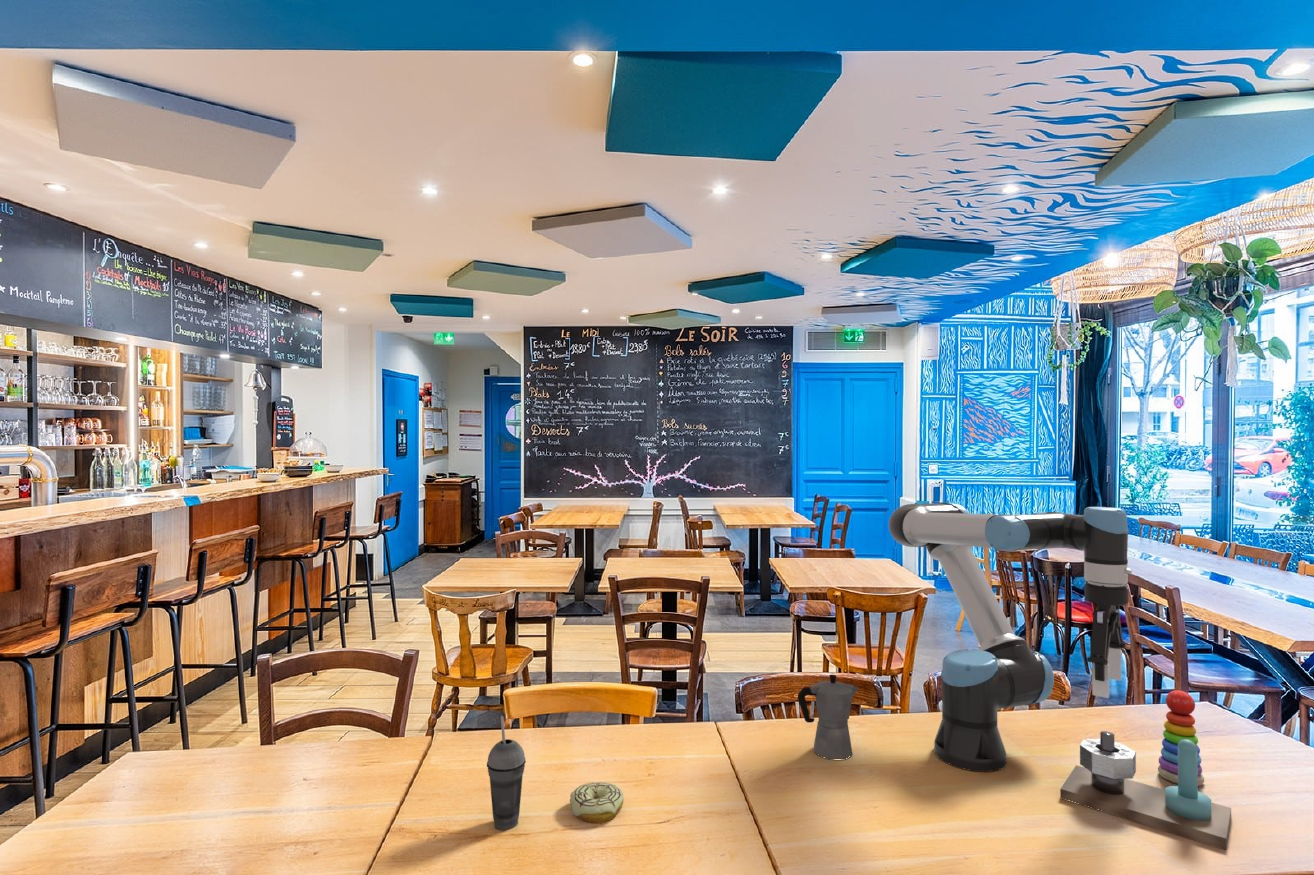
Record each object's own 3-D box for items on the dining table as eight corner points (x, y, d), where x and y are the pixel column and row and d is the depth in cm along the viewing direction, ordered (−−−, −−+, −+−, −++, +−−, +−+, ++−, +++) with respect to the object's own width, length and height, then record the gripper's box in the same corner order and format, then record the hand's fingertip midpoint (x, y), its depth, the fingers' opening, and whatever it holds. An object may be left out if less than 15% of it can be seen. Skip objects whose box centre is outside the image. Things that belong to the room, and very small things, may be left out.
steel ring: (1077, 768, 140) (1076, 749, 140) (1086, 754, 146) (1086, 735, 146) (1130, 783, 133) (1130, 763, 133) (1138, 767, 140) (1137, 748, 140)
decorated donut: (568, 827, 129) (568, 807, 129) (571, 798, 140) (571, 779, 140) (623, 825, 130) (623, 805, 130) (622, 796, 141) (622, 777, 141)
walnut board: (1060, 798, 139) (1060, 788, 139) (1076, 774, 150) (1076, 765, 150) (1226, 850, 122) (1226, 838, 122) (1231, 818, 132) (1231, 808, 132)
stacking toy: (1212, 790, 143) (1212, 699, 143) (1169, 786, 145) (1168, 697, 145) (1191, 772, 151) (1190, 686, 151) (1150, 768, 152) (1149, 684, 153)
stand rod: (1088, 788, 140) (1088, 734, 140) (1094, 778, 144) (1094, 725, 144) (1121, 797, 136) (1121, 742, 136) (1126, 787, 140) (1126, 733, 140)
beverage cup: (506, 838, 125) (506, 728, 125) (478, 827, 129) (478, 720, 129) (533, 820, 131) (533, 715, 131) (505, 809, 135) (506, 707, 135)
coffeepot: (848, 740, 167) (848, 666, 167) (869, 758, 157) (868, 679, 158) (789, 747, 163) (789, 671, 163) (806, 764, 154) (806, 684, 154)
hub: (1162, 811, 131) (1162, 740, 131) (1167, 797, 136) (1167, 729, 136) (1209, 825, 126) (1209, 751, 126) (1213, 810, 131) (1212, 739, 131)
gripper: (1116, 595, 129) (1118, 709, 128) (1137, 577, 147) (1139, 676, 147) (1071, 589, 134) (1072, 699, 133) (1096, 572, 152) (1098, 668, 152)
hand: (1107, 687), depth 140 cm, fingers open, 13 cm apart
